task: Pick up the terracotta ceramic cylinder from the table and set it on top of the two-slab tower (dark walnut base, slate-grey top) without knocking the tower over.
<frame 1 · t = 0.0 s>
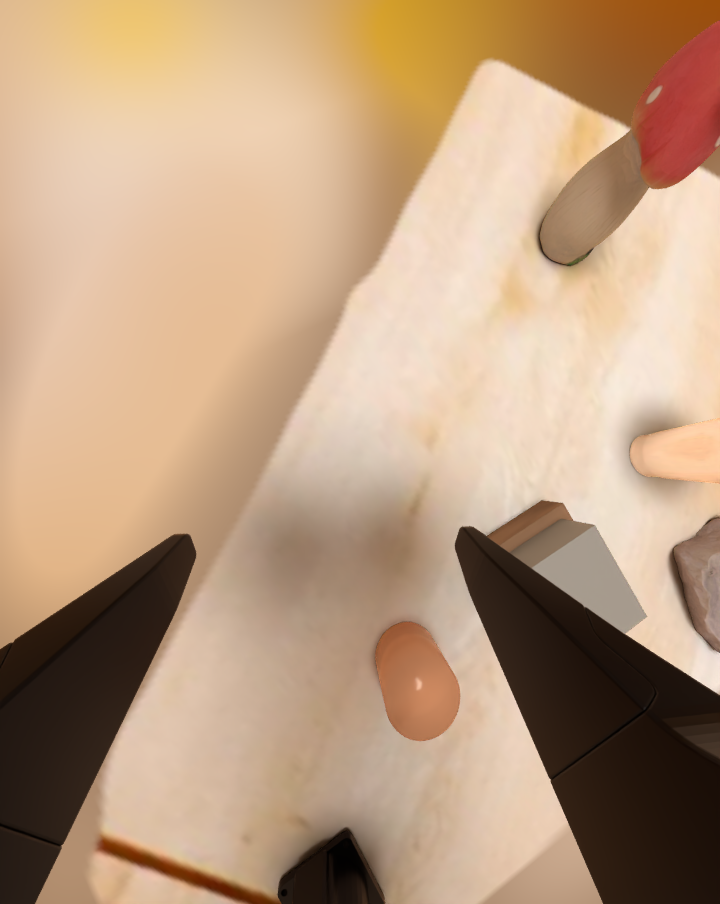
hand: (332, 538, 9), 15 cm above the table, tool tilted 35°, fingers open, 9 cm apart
base slab: (523, 569, 25), on the table, touching top slab
cylinder: (405, 654, 23), on the table
decorative ornament: (561, 242, 29), on the table
cup with straw: (643, 456, 27), on the table
stone block: (707, 583, 27), on the table
top slab: (548, 581, 22), point 2 cm above the table, touching base slab
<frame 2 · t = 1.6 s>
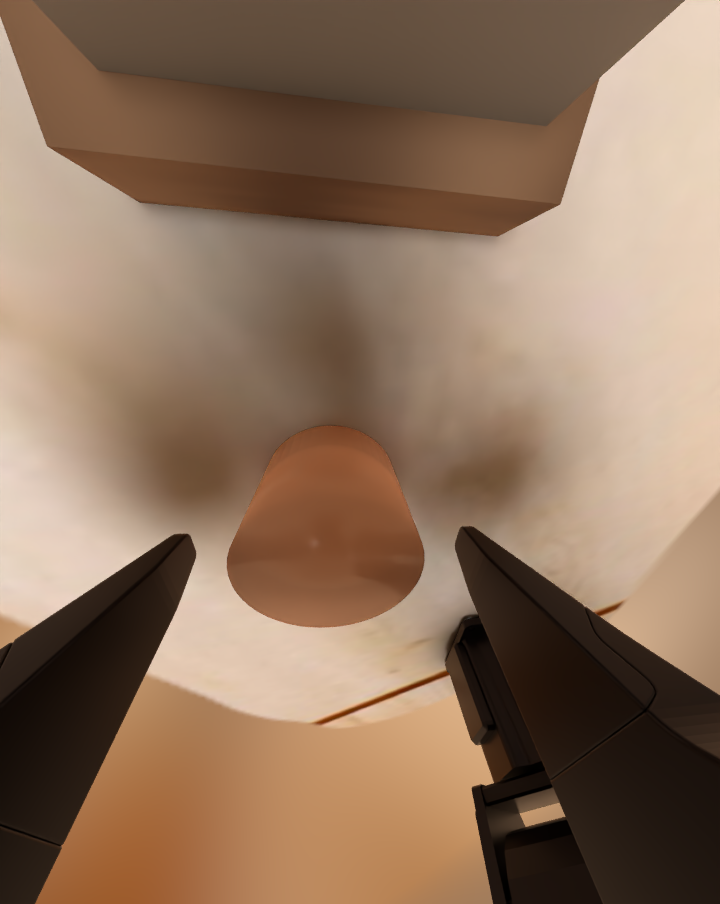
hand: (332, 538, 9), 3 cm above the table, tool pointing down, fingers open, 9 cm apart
cylinder: (331, 483, 11), on the table
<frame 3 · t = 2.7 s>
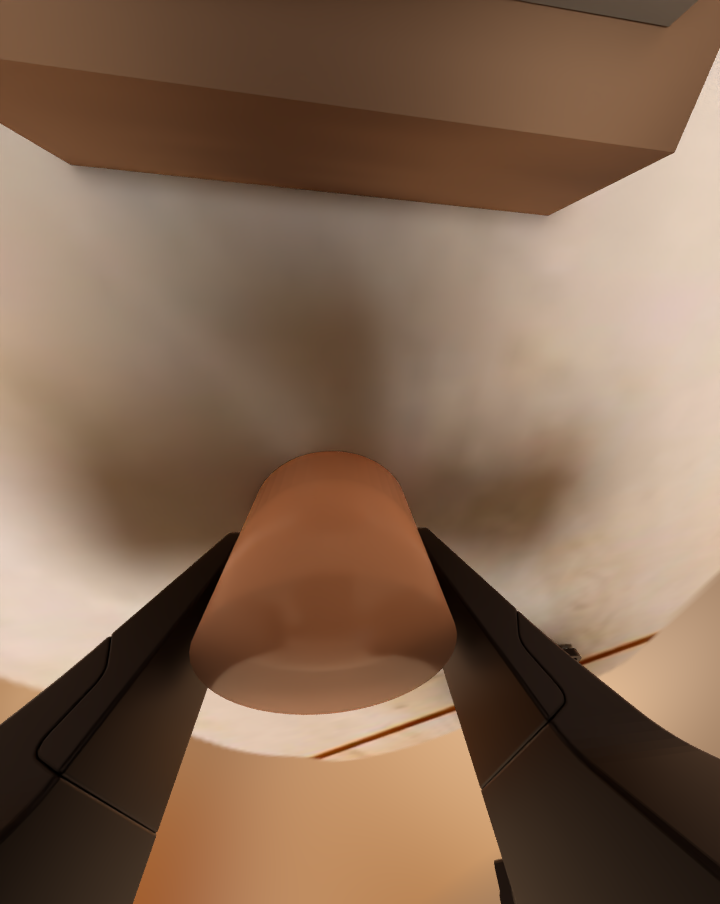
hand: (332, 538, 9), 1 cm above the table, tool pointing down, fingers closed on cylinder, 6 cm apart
cylinder: (332, 517, 9), on the table, touching gripper
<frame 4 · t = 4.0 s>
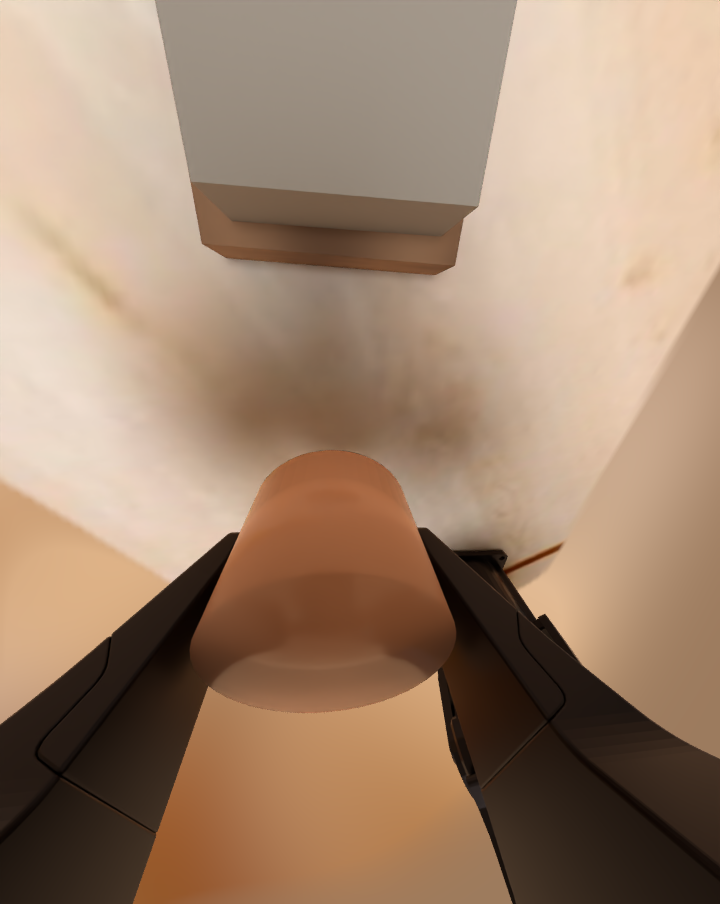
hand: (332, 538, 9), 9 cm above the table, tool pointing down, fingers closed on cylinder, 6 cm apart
base slab: (335, 121, 10), on the table, touching top slab
cylinder: (332, 516, 9), point 8 cm above the table, touching gripper
top slab: (340, 63, 8), point 2 cm above the table, touching base slab
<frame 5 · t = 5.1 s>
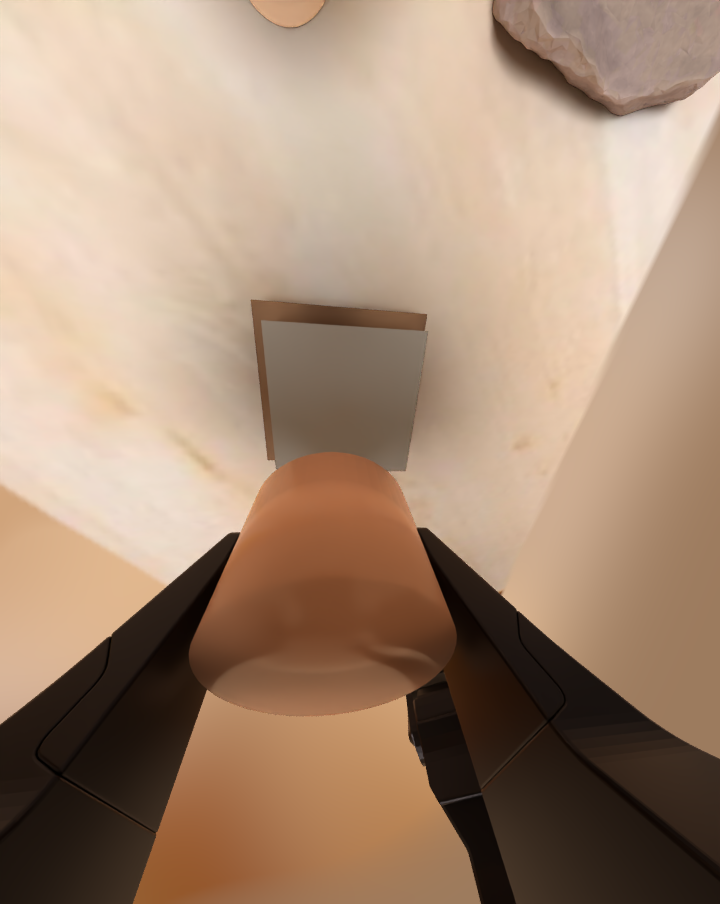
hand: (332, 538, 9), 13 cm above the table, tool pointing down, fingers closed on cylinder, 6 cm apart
base slab: (339, 385, 19), on the table
cylinder: (332, 518, 9), point 12 cm above the table, touching gripper
top slab: (343, 394, 17), point 2 cm above the table
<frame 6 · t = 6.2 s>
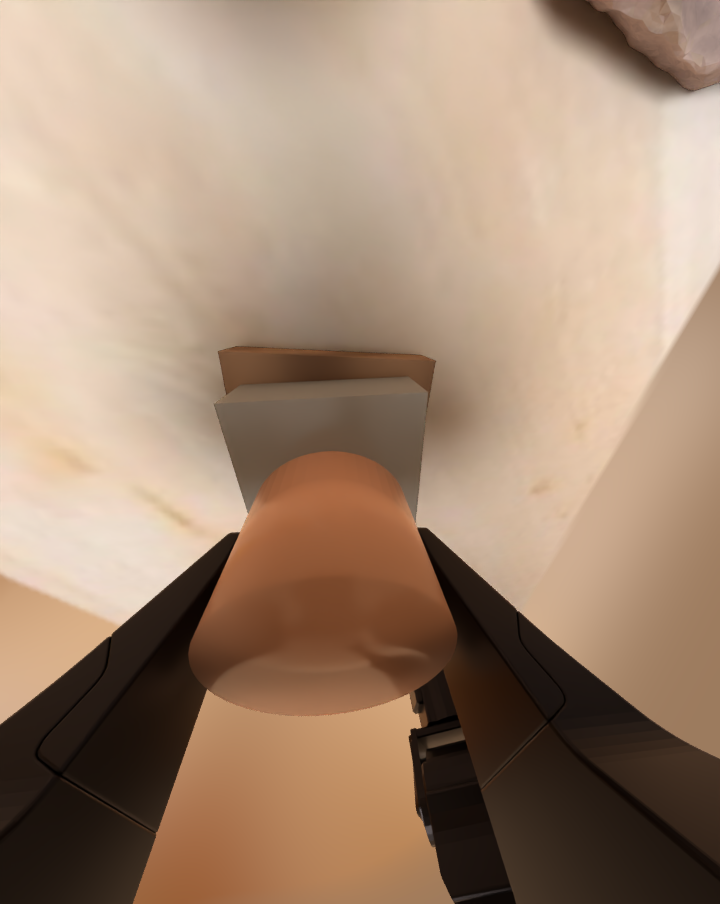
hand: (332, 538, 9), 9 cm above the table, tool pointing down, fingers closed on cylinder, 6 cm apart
base slab: (332, 431, 17), on the table
cylinder: (332, 517, 9), point 7 cm above the table, touching gripper
top slab: (333, 453, 14), point 2 cm above the table
when the fingers open (8 cm above the table, at t = 7.0 s): cylinder drops 2 cm, resting on top slab.
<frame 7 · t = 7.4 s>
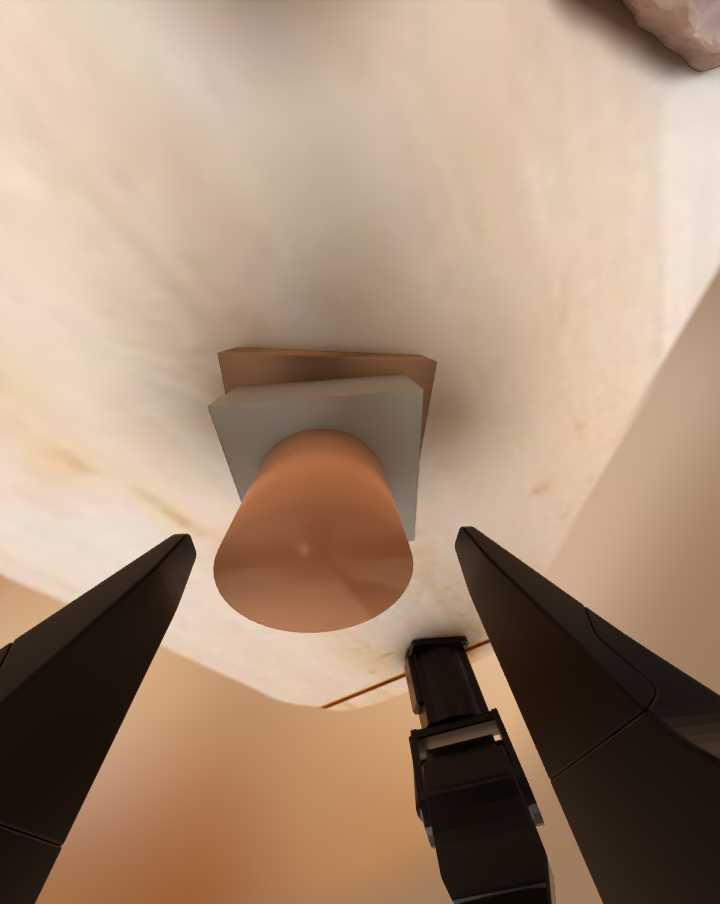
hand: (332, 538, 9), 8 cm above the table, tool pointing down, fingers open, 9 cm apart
base slab: (332, 432, 17), on the table, touching top slab
cylinder: (323, 487, 11), point 5 cm above the table, touching top slab
top slab: (331, 454, 14), point 2 cm above the table, touching base slab, cylinder
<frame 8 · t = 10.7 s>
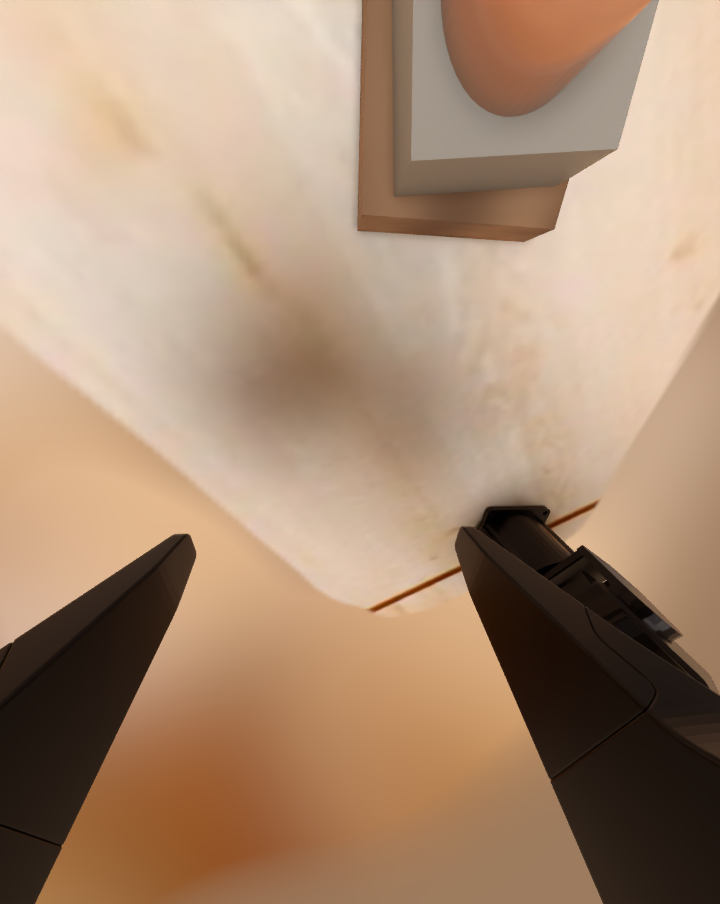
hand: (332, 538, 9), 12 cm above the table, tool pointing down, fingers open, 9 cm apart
base slab: (456, 114, 13), on the table, touching top slab
top slab: (489, 56, 10), point 2 cm above the table, touching base slab, cylinder
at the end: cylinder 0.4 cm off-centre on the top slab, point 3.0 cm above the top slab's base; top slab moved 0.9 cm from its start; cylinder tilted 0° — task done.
